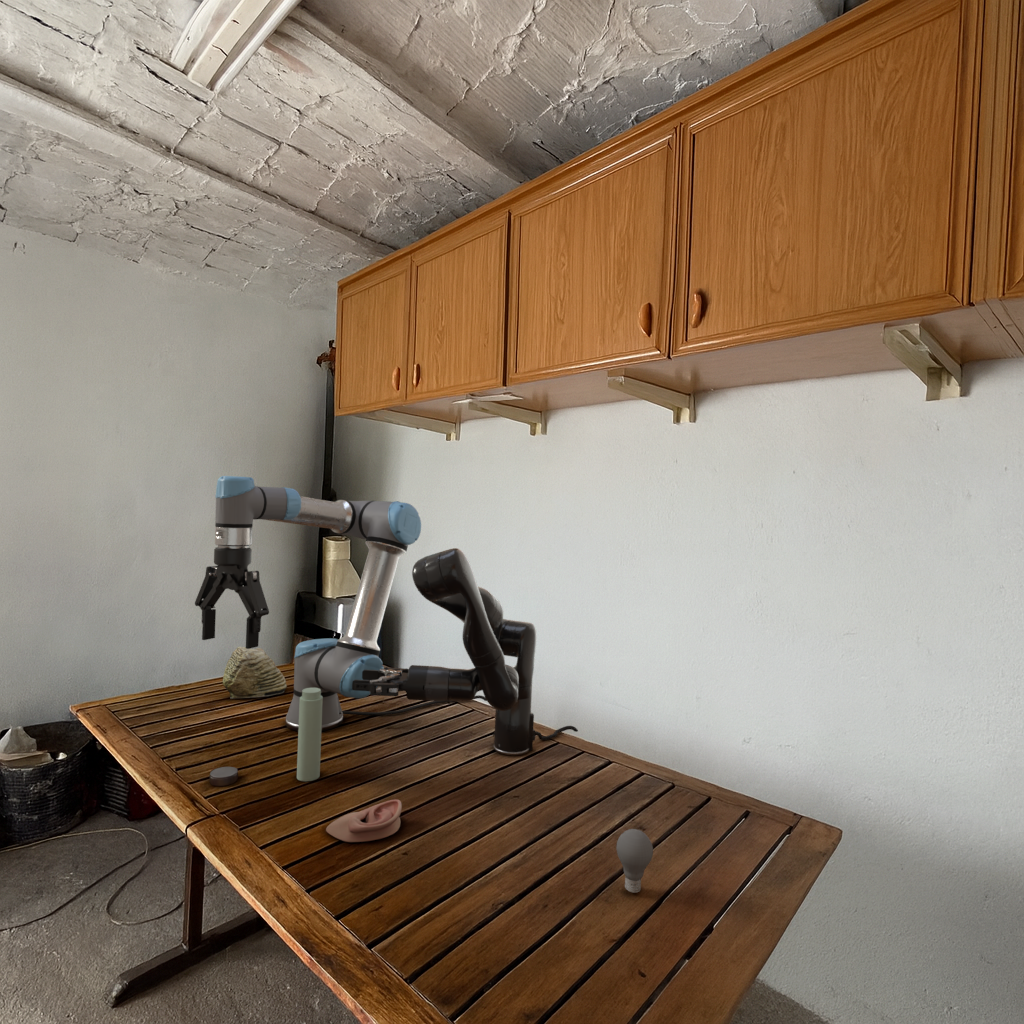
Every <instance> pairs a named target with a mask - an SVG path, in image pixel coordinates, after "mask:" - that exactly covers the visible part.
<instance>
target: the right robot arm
mask: <svg viewBox="0 0 1024 1024" xmlns="http://www.w3.org/2000/svg"><path fill="white" fill-rule="evenodd" d="M411 577H412V581H413V584H414V586H415V587H416V589H417V591H418V592H419V593H420V595H421V596H422V597H423V598H424V599H426V600H427V601H429V602H430V603H432V604H433V605H436V606H437V607H440V608H442V609H444V610H446V611H447V612H449V613H450V614H451V615H453V616H455V618H457V619H458V620H459V621H461V623H463V626H462V644H463V647H464V650H465V651H466V654H467V656H468V657H469V660H470V661H471V663H472V665H473V667H472V668H455V667H445V666H440V665H439V666H436V665H420V664H419V665H418V664H411V665H410V666H409V667H408V668H404V667H403V668H402V667H388V666H385V667H384V669H380V670H363V672H362V679H363V680H354V681H353V682H352V689H353V690H356V691H369V692H370V696H372V697H374V696H377V697H378V696H379V697H380V696H381V697H398V696H399V692H405V693H406V694H405V695H406V699H407V700H409V701H425V702H427V701H428V702H432V701H445V700H450V701H460V702H471V701H473V700H474V699H473V698H474V697H475V696H477V693H478V692H481V691H482V692H483V696H484V697H485V698H486V700H487V701H486V702H487V703H488V705H489V706H490V707H492V708H493V709H494V710H495V712H494V713H495V715H494V731H493V732H492V738H493V750H494V751H495V752H496V753H498V754H501V755H505V756H521V755H525V754H527V753H529V752H532V751H533V745H534V744H533V743H534V741H536V736H537V737H538V739H539V740H540V741H549V740H552V739H554V738H557V736H558V734H560V733H563V732H565V731H569V730H572V731H573V732H579V730H578V728H576V726H573V725H566V726H563V727H560V728H558V729H556V730H554V732H553V733H552V734H549V735H542V733H541V732H539V731H537V730H536V729H534V725H535V724H534V723H535V714H534V713H533V712H532V697H533V678H534V673H535V662H536V653H537V652H536V651H537V642H538V641H537V639H538V634H537V629H536V626H535V624H534V623H532V622H528V621H522V620H514V619H506V618H504V614H505V613H504V608H503V607H504V606H503V605H502V603H501V602H500V601H499V599H497V597H496V596H495V595H494V594H493V593H491V592H490V591H489V590H488V589H486V588H484V587H482V586H478V584H477V580H476V577H475V574H474V571H473V567H472V566H471V563H470V561H469V560H468V557H467V556H466V554H465V552H464V551H462V550H461V549H460V548H457V547H456V548H455V547H454V548H448V549H445V550H442V551H439V552H436V553H432V554H429V555H426V556H424V557H422V558H420V559H418V560H417V561H416V562H414V565H413V567H412V571H411ZM505 657H512V658H516V664H515V665H513V666H511V665H508V664H506V658H505ZM370 680H371V681H370ZM376 686H378V687H377V688H376Z"/></svg>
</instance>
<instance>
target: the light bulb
mask: <svg viewBox="0 0 1024 1024" xmlns="http://www.w3.org/2000/svg"><path fill="white" fill-rule="evenodd" d="M615 849H616V854H617V857H618V859H619V861H620V863H621V865H622V867H623V873H624V874H623V875H624V876H625V878H624V888H625V890H627V891H628V892H630V893H634V894H635V893H639V892H640V891H641V889H642V887H641V886H642V879H643V877H644V875H645V871H646V868H647V867H648V866H649V864H650V863H651V861H652V859H653V855H654V847H653V843H652V841H651V838H649V836H648V835H647V834H646V833H645V832H643V831H642V830H641V829H636V828H629V829H627V830H625V831H623V832H622V833H621V834H620V835H619V837H618V839H617V841H616V847H615Z"/></svg>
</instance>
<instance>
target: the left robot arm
mask: <svg viewBox="0 0 1024 1024" xmlns="http://www.w3.org/2000/svg"><path fill="white" fill-rule="evenodd" d="M214 495H215V516H214V517H215V518H214V521H215V523H214V526H215V527H214V532H215V533H214V545H216V546H217V547H215V548H214V550H213V564H214V565H211V566H207V567H205V575H204V578H203V580H202V584H201V586H200V588H199V591H198V594H197V596H196V598H195V601H194V606H195V607H199V609H200V610H201V624H202V628H201V629H202V630H201V640H202V641H207V640H213V639H215V638H216V620H217V619H216V617H217V615H216V614H217V609H216V606H215V605H216V604H217V603H218V601H219V600H220V598H221V597H222V595H223V593H224V592H225V591H226V590H230V591H234V592H235V593H236V594H238V596H239V599H240V600H241V602H242V604H243V606H244V608H245V610H246V612H247V614H248V617H246V629H245V647H246V649H255V648H259V640H260V639H259V638H260V637H259V636H260V632H261V631H262V629H261V628H262V618H263V617H264V616H267V615H269V614H270V610H269V607H268V603H267V600H266V596H265V594H264V590H263V588H262V584H261V581H260V580H261V579H260V571H259V570H249V567H248V566H250V565H251V563H252V552H253V551H252V550H253V549H252V548H251V547H250V546H252V545H253V525H254V520H263V521H272V522H278V523H286V524H293V525H300V526H306V527H307V526H308V527H314V528H315V527H316V528H321V529H322V528H323V529H330V530H331V531H332V532H333V533H336V534H339V535H340V534H342V535H346V536H351V537H355V538H358V539H361V540H364V542H365V545H366V547H367V548H368V551H367V552H368V553H367V556H366V560H365V563H364V567H363V570H362V574H361V577H360V581H359V585H358V588H357V591H356V594H355V598H354V601H353V605H352V609H351V613H350V616H349V620H348V623H347V627H346V630H345V634H344V635H342V636H341V637H340V638H339V639H338V638H335V637H334V638H331V637H329V638H315V639H308V640H304V641H301V642H299V643H298V644H297V645H296V646H295V652H294V656H293V658H294V670H293V671H294V672H293V695H292V696H293V697H292V699H291V702H290V704H289V708H288V711H287V713H286V715H285V726H286V728H287V729H289V730H291V731H294V732H295V731H296V732H298V729H299V702H300V697H301V696H302V690H303V689H306V688H319V689H321V696H322V697H323V703H322V729H321V732H325V731H329V730H332V729H335V728H337V727H339V726H340V725H342V723H343V722H344V715H354V716H391V715H397V714H403V713H406V712H410V711H412V710H413V711H414V710H416V709H420V708H425V707H428V706H432V705H437V704H444V703H456V702H458V703H459V702H461V701H450V700H445V701H428V702H424V703H421V704H416V705H412V706H409V707H406V708H402V709H398V710H391V711H390V710H389V711H355V710H343V709H342V706H341V702H340V699H339V695H342V696H343V697H346V698H352V699H365V698H367V697H369V695H370V692H369V691H356V690H353V689H352V682H353V681H354V680H363V679H362V672H363V670H380V669H384V668H385V667H384V665H383V664H384V663H383V660H382V659H381V658H380V657H379V655H380V652H381V648H380V646H379V645H378V639H379V638H378V637H379V635H380V631H381V628H382V623H383V620H384V616H385V612H386V608H387V605H388V600H389V597H390V594H391V589H392V587H393V582H394V578H395V575H396V571H397V567H398V563H399V560H400V558H401V557H402V556H404V555H406V554H407V551H408V547H409V546H410V545H413V544H415V543H416V541H418V539H419V538H420V535H421V532H422V520H421V517H420V515H419V512H418V510H417V509H416V507H414V506H413V505H412V504H411V503H408V502H401V501H399V500H395V501H387V500H386V501H385V500H345V499H338V500H335V501H332V500H331V501H330V500H327V499H326V500H325V499H319V498H313V497H308V496H303V495H302V496H301V495H300V493H299V491H297V490H296V489H295V488H292V487H291V488H290V487H285V486H281V487H279V486H257V485H255V480H254V478H253V477H252V476H239V475H238V476H237V475H235V476H234V475H221V476H220V477H218V479H217V482H216V489H215V494H214ZM370 681H371V680H370ZM376 688H379V686H376ZM338 694H339V695H338ZM370 696H371V695H370ZM477 699H480V700H483V701H484V702H487V700H486V698H485V696H484V695H479V694H478V695H475V697H474V698H473V700H477Z"/></svg>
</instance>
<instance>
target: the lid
mask: <svg viewBox="0 0 1024 1024" xmlns="http://www.w3.org/2000/svg"><path fill="white" fill-rule="evenodd" d="M238 771H239V770H238V768H236V767H234V766H221V767H218V768H214V769H213V770H211V771H210V773H209V784H210V785H211V786H215V787H224V786H229V785H232V784H235V782H237V781H238V779H239V772H238Z"/></svg>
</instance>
